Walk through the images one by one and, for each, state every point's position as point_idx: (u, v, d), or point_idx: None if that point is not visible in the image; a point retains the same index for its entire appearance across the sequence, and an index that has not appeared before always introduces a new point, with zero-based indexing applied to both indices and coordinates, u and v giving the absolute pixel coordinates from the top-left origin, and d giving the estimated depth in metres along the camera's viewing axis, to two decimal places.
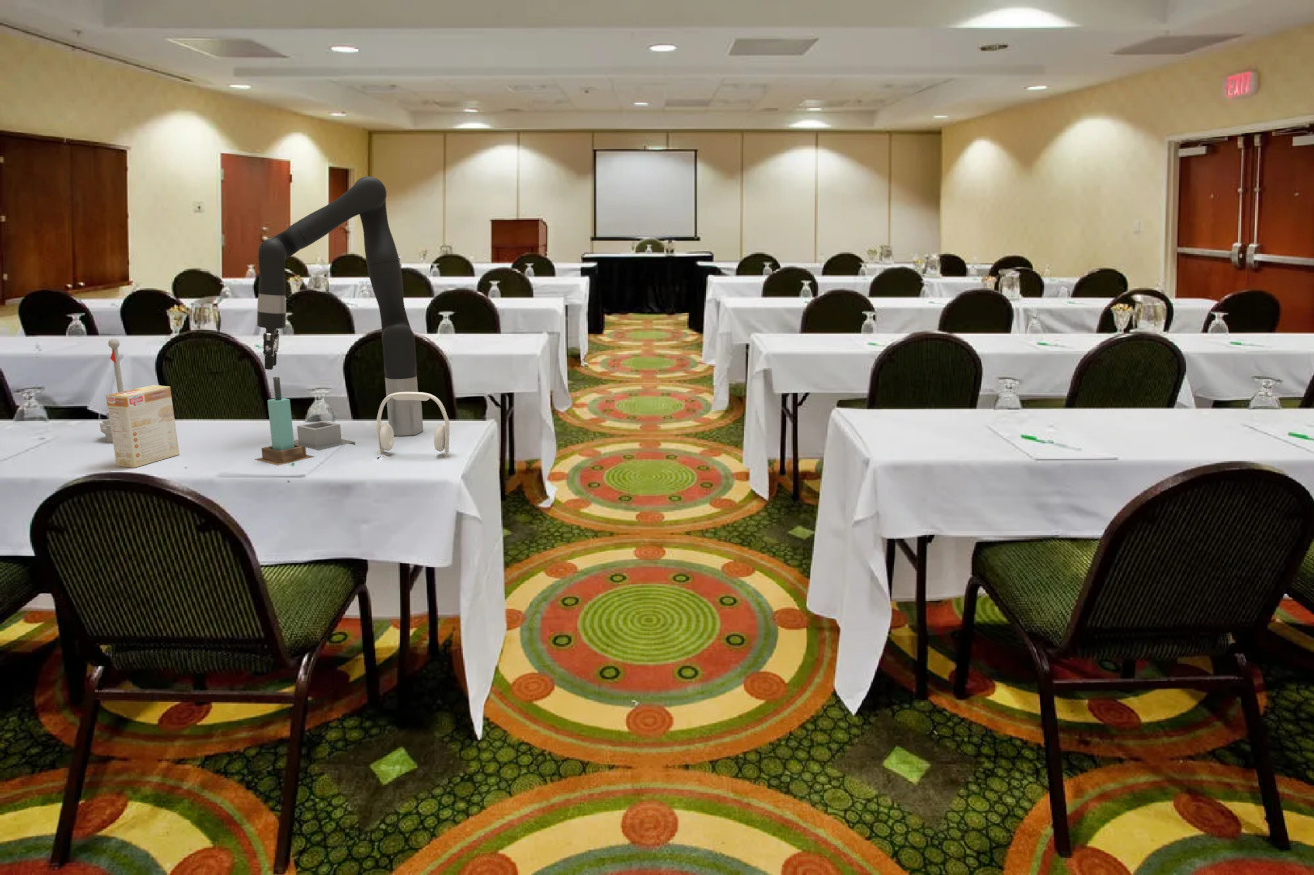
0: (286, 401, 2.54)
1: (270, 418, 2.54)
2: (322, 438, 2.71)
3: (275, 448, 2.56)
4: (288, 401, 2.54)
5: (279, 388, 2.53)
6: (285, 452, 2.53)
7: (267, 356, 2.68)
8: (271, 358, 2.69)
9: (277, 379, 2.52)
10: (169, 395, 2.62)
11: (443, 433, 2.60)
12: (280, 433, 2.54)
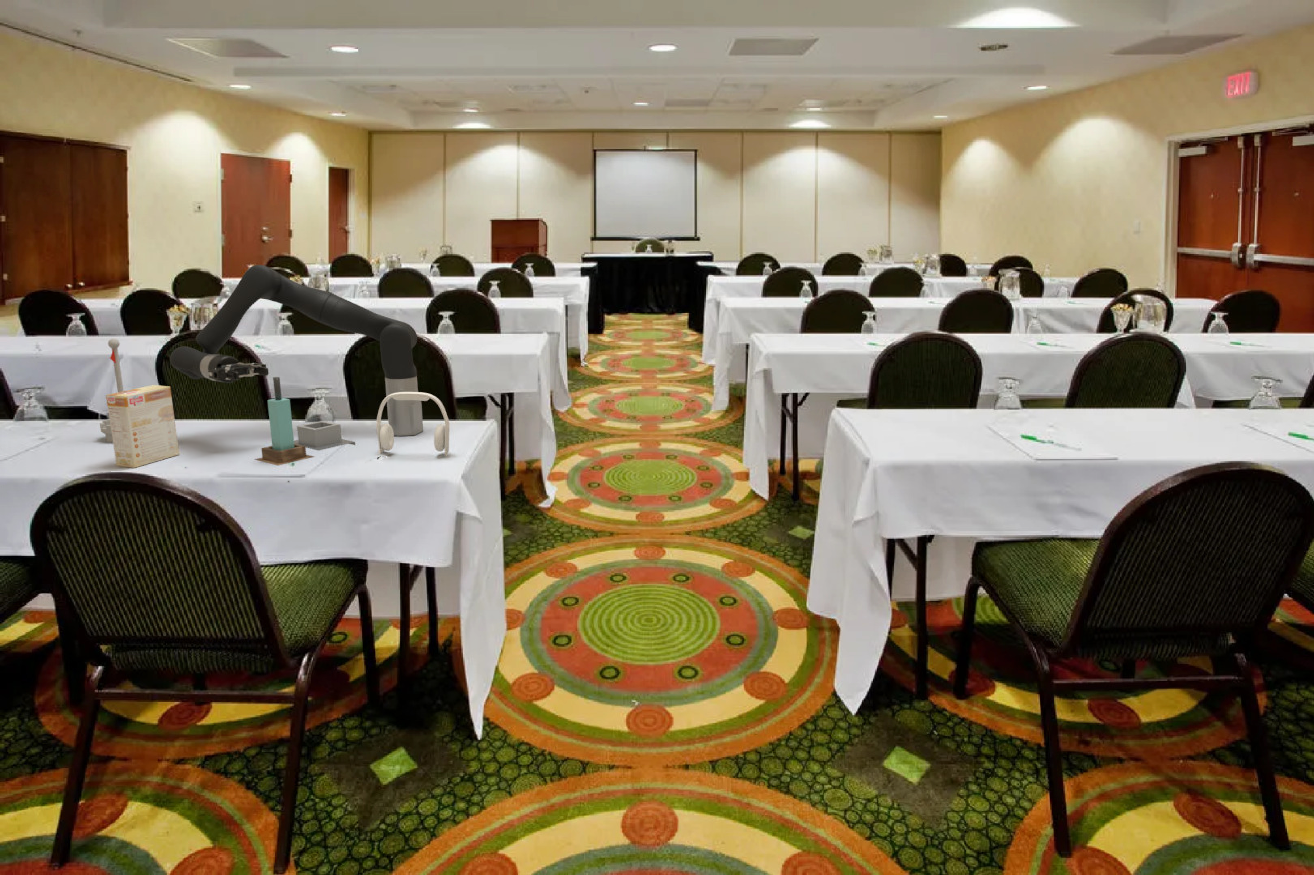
0: (286, 401, 2.54)
1: (270, 418, 2.54)
2: (322, 438, 2.71)
3: (275, 448, 2.56)
4: (288, 401, 2.54)
5: (279, 388, 2.53)
6: (285, 452, 2.53)
7: (225, 376, 2.57)
8: (228, 372, 2.57)
9: (277, 379, 2.52)
10: (169, 395, 2.62)
11: (443, 433, 2.60)
12: (280, 433, 2.54)
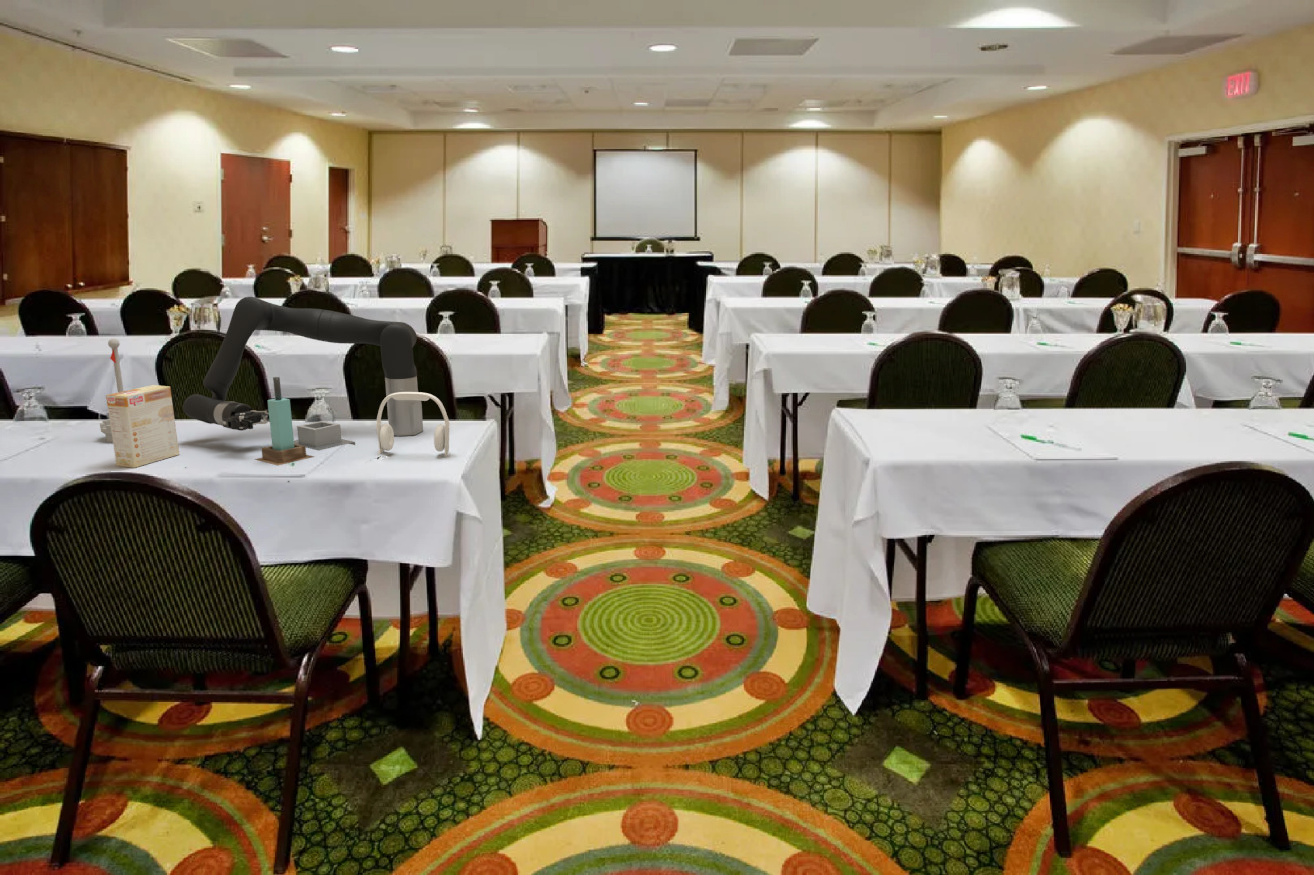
0: (286, 401, 2.54)
1: (270, 418, 2.54)
2: (322, 438, 2.71)
3: (275, 448, 2.56)
4: (288, 401, 2.54)
5: (279, 388, 2.53)
6: (285, 452, 2.53)
7: (239, 425, 2.58)
8: (242, 421, 2.58)
9: (277, 379, 2.52)
10: (169, 395, 2.62)
11: (443, 433, 2.60)
12: (280, 433, 2.54)
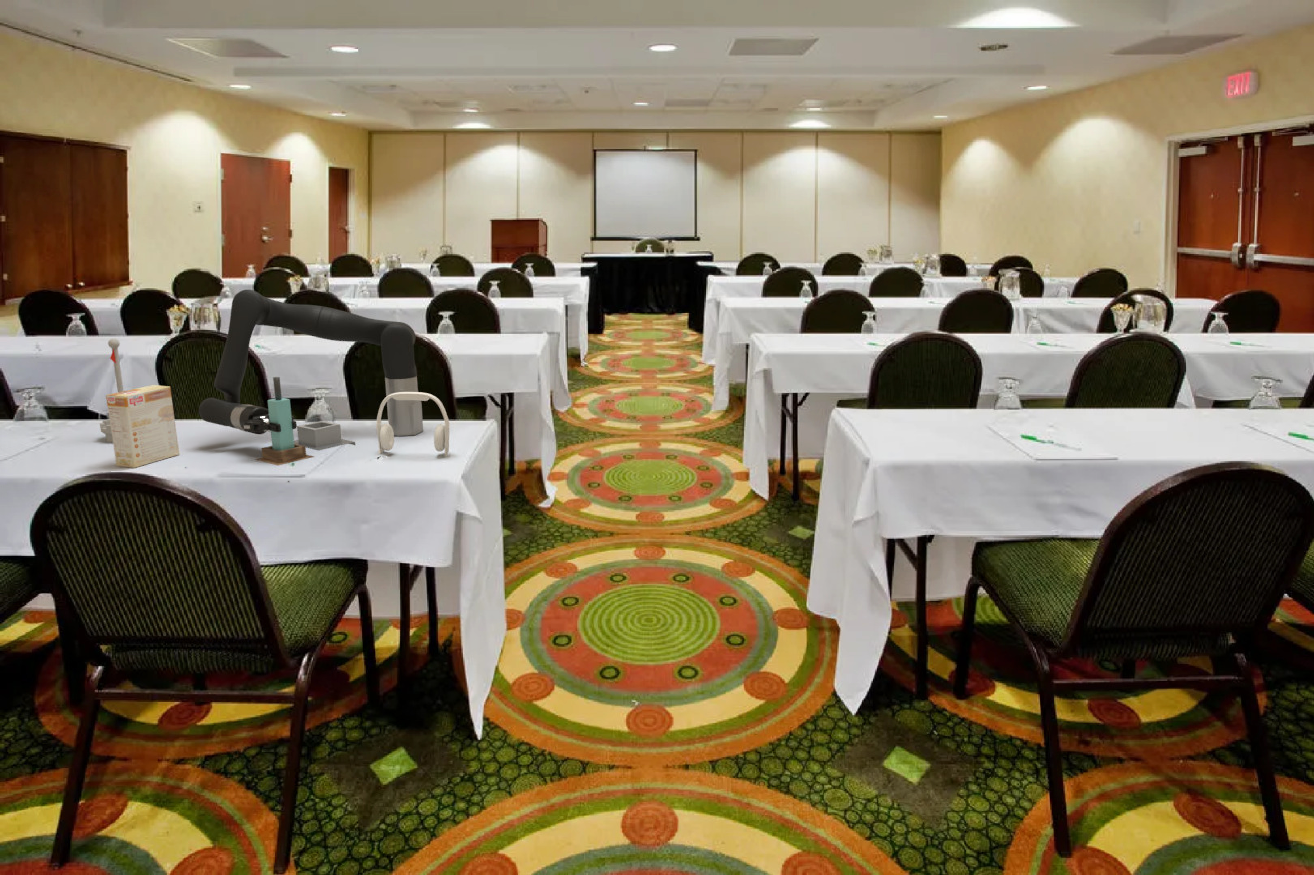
0: (286, 401, 2.54)
1: (270, 418, 2.54)
2: (322, 438, 2.71)
3: (275, 448, 2.56)
4: (288, 401, 2.54)
5: (279, 388, 2.53)
6: (285, 452, 2.53)
7: (267, 428, 2.54)
8: (270, 424, 2.54)
9: (277, 379, 2.52)
10: (169, 395, 2.62)
11: (443, 433, 2.60)
12: (280, 433, 2.54)
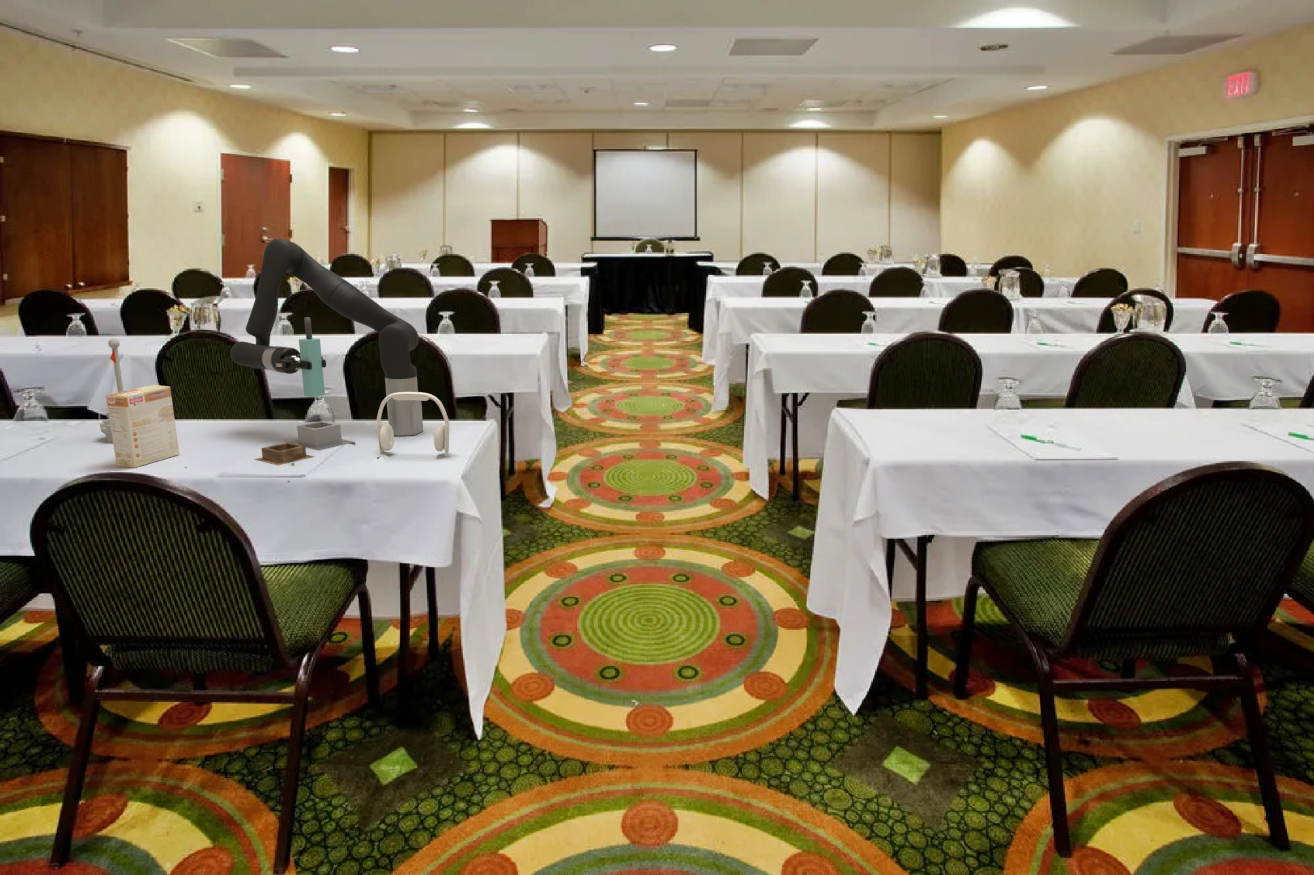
0: (316, 340, 2.67)
1: (301, 357, 2.67)
2: (322, 438, 2.71)
3: (306, 385, 2.69)
4: (318, 340, 2.67)
5: (310, 328, 2.66)
6: (285, 452, 2.53)
7: (298, 366, 2.67)
8: (301, 362, 2.66)
9: (308, 319, 2.65)
10: (169, 395, 2.62)
11: (443, 433, 2.60)
12: (311, 370, 2.67)
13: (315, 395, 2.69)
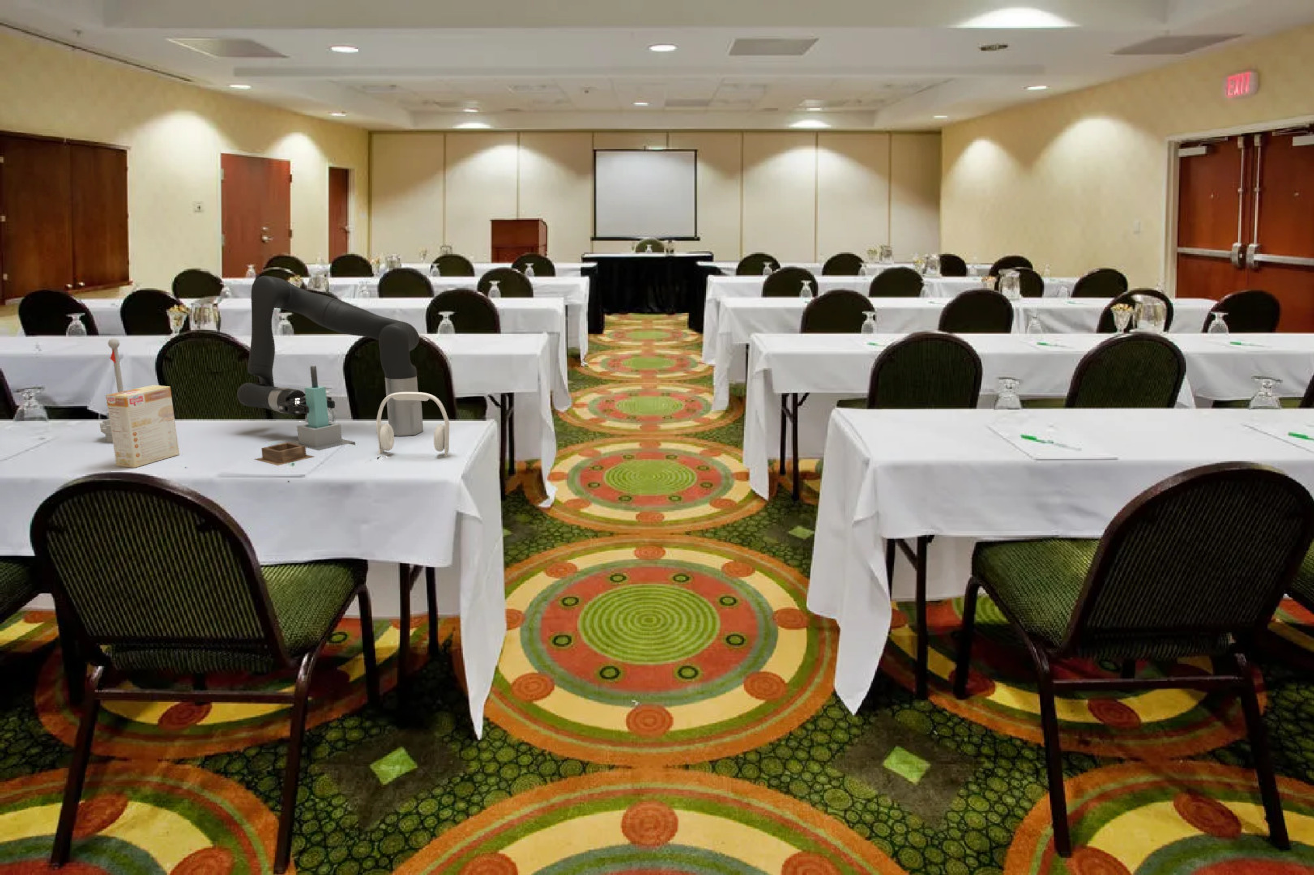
0: (322, 389, 2.71)
1: (307, 405, 2.72)
2: (322, 438, 2.71)
3: None
4: (324, 389, 2.72)
5: (316, 376, 2.70)
6: (285, 452, 2.53)
7: (296, 409, 2.69)
8: (298, 406, 2.69)
9: (314, 368, 2.69)
10: (169, 395, 2.62)
11: (443, 433, 2.60)
12: (317, 418, 2.71)
13: None
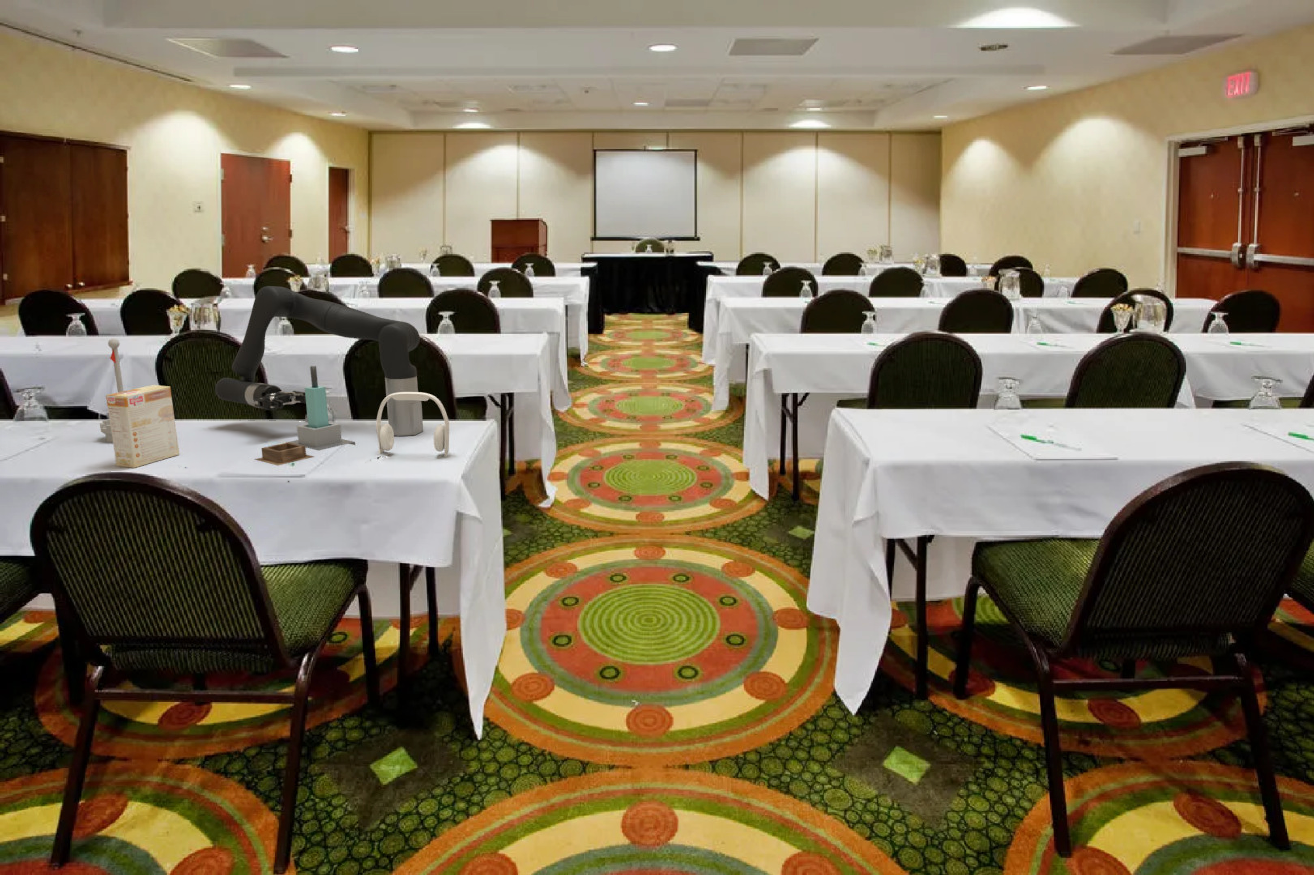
0: (322, 389, 2.71)
1: (307, 405, 2.72)
2: (322, 438, 2.71)
3: None
4: (324, 389, 2.72)
5: (316, 376, 2.70)
6: (285, 452, 2.53)
7: (270, 404, 2.76)
8: (273, 401, 2.76)
9: (314, 368, 2.69)
10: (169, 395, 2.62)
11: (443, 433, 2.60)
12: (317, 418, 2.71)
13: None
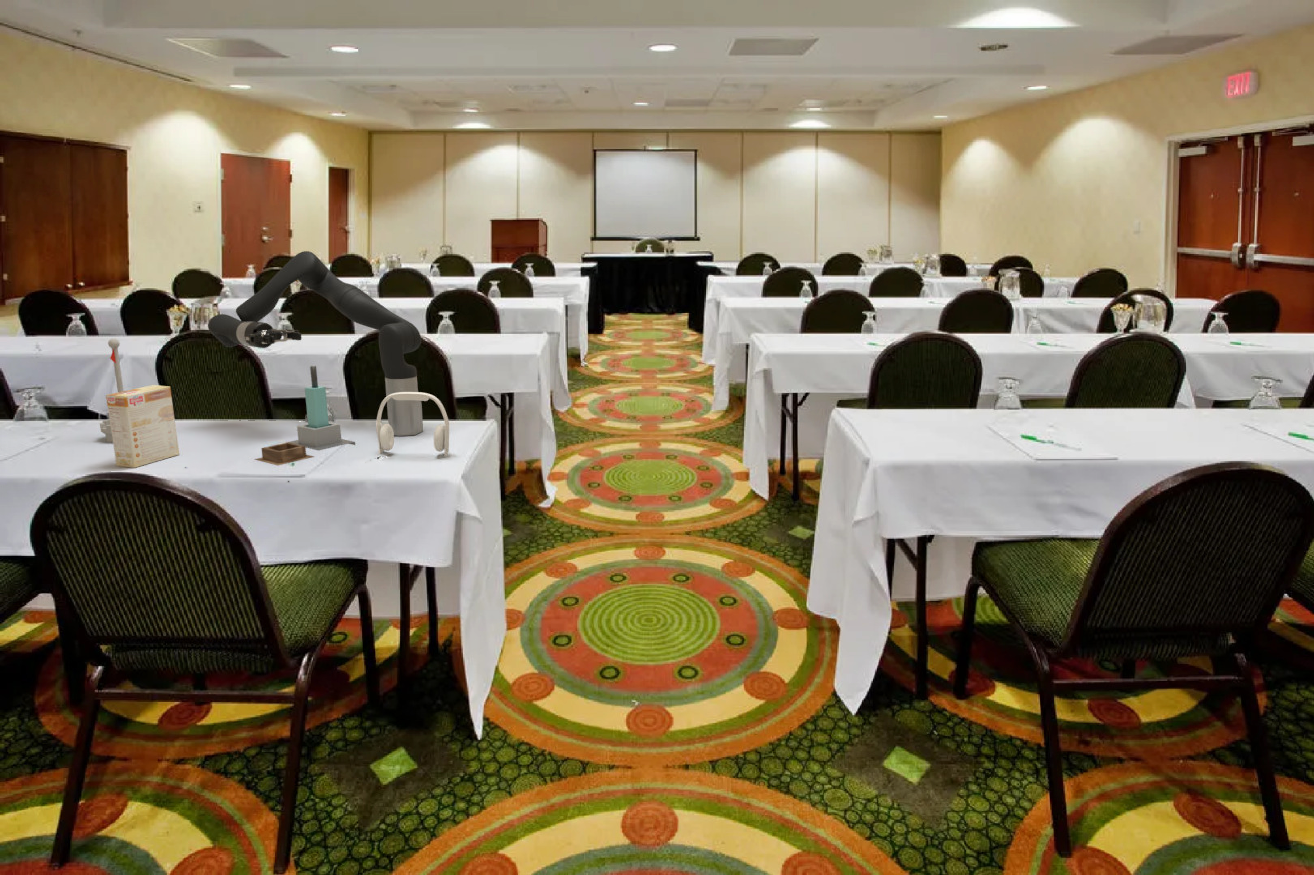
0: (322, 389, 2.71)
1: (307, 405, 2.72)
2: (322, 438, 2.71)
3: None
4: (324, 389, 2.72)
5: (316, 376, 2.70)
6: (285, 452, 2.53)
7: (262, 340, 2.74)
8: (264, 336, 2.74)
9: (314, 368, 2.69)
10: (169, 395, 2.62)
11: (443, 433, 2.60)
12: (317, 418, 2.71)
13: None
